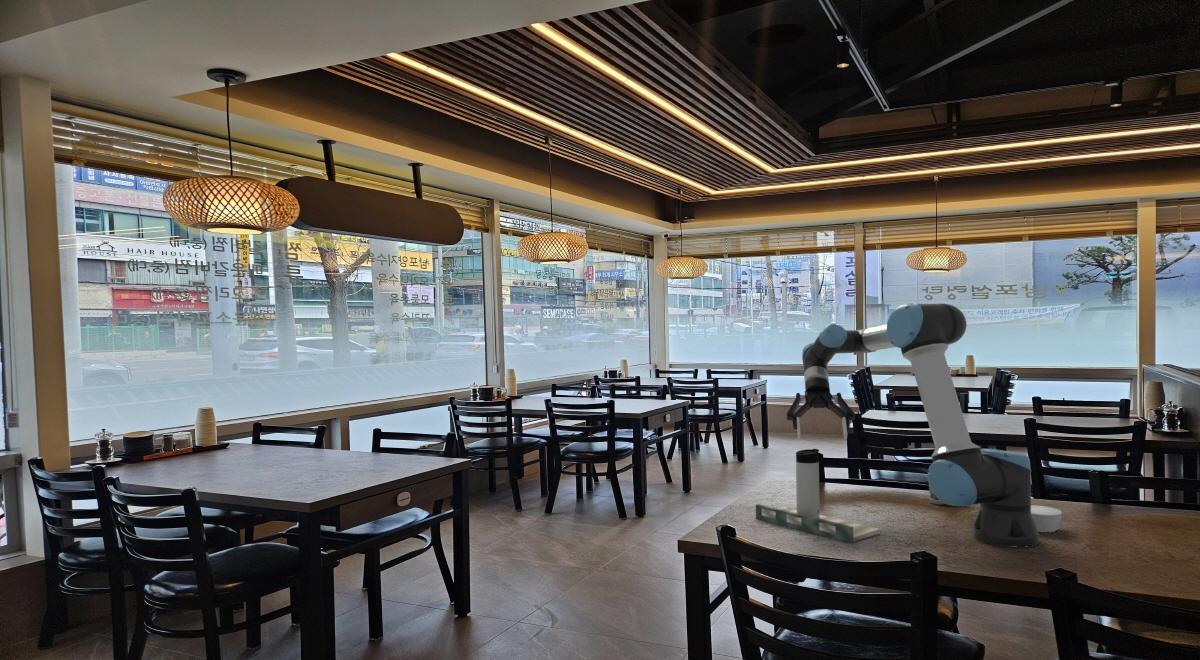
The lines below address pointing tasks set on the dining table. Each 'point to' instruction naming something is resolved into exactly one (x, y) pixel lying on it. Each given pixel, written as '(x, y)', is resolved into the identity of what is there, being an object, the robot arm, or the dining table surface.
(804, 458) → the travel mug
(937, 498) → the ceramic mug
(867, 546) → the dining table surface
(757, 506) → the shelf
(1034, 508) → the ramekin
